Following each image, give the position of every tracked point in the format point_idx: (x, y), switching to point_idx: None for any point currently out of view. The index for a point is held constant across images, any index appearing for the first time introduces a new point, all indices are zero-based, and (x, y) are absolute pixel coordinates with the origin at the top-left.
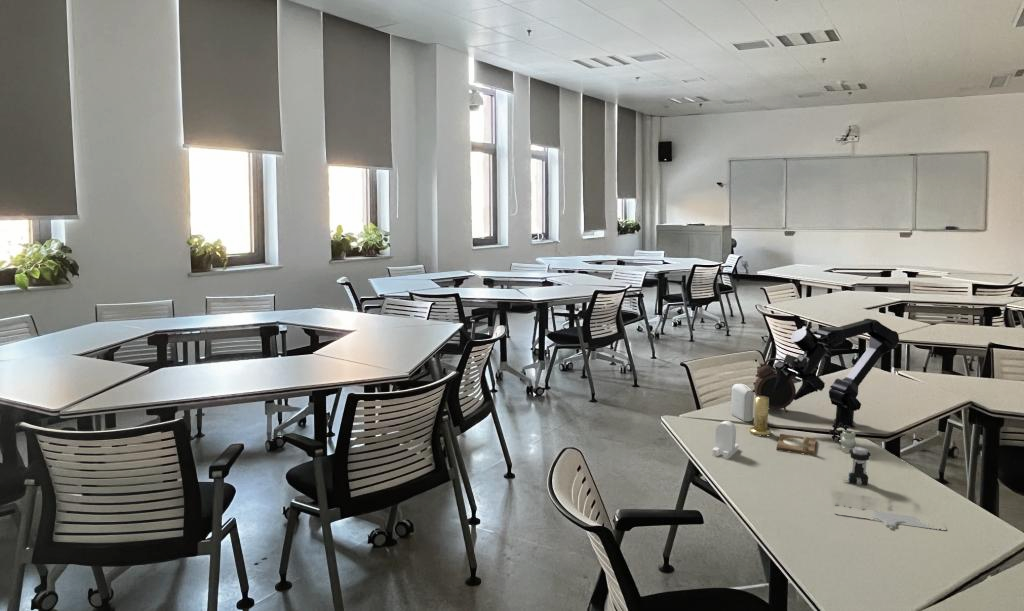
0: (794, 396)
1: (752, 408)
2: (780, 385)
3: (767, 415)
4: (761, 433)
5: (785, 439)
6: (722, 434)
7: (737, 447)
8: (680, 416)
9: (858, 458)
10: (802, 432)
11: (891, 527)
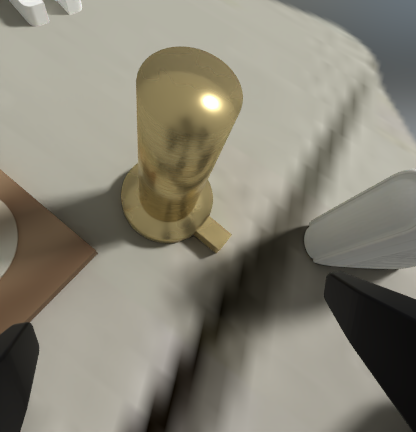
0: (11, 337)
1: (346, 246)
2: (386, 367)
3: (143, 175)
4: (128, 175)
5: (6, 217)
6: None
7: (21, 8)
8: (371, 71)
9: None
10: (113, 413)
11: None
